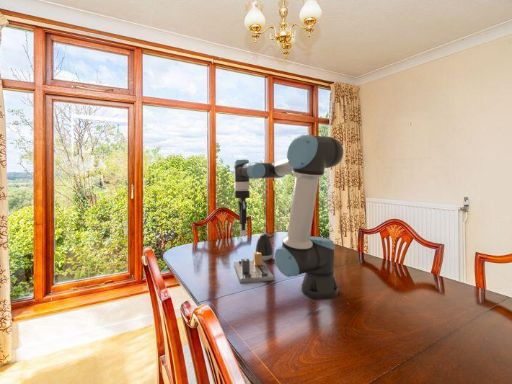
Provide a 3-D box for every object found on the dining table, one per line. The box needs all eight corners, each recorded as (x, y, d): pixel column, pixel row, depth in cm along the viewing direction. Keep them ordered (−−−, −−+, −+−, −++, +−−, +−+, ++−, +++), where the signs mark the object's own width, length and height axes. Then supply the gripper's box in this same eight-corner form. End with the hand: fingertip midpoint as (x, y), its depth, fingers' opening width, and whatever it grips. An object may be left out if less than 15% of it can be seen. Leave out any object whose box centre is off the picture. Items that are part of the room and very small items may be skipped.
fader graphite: (249, 272, 138) (249, 259, 137) (242, 273, 137) (242, 260, 136) (248, 270, 141) (248, 257, 140) (241, 270, 140) (241, 258, 139)
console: (274, 280, 133) (273, 274, 133) (239, 283, 130) (239, 276, 130) (262, 263, 156) (262, 258, 156) (233, 266, 153) (233, 260, 153)
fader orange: (261, 265, 148) (261, 253, 147) (255, 265, 147) (254, 253, 147) (260, 263, 151) (260, 251, 151) (253, 263, 150) (253, 252, 150)
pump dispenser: (273, 262, 159) (273, 235, 158) (255, 262, 160) (255, 235, 158) (273, 256, 169) (272, 231, 168) (255, 256, 170) (255, 231, 169)
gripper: (251, 190, 137) (252, 238, 139) (247, 189, 150) (248, 233, 152) (236, 191, 136) (237, 239, 138) (233, 189, 149) (234, 233, 150)
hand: (243, 236), depth 145 cm, fingers closed
